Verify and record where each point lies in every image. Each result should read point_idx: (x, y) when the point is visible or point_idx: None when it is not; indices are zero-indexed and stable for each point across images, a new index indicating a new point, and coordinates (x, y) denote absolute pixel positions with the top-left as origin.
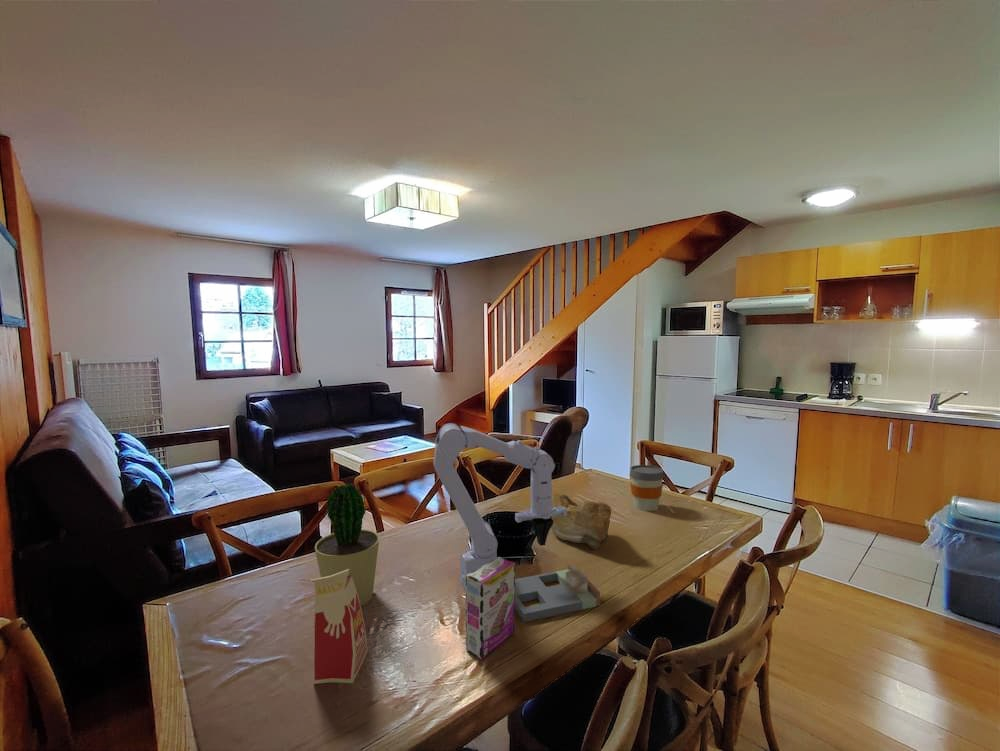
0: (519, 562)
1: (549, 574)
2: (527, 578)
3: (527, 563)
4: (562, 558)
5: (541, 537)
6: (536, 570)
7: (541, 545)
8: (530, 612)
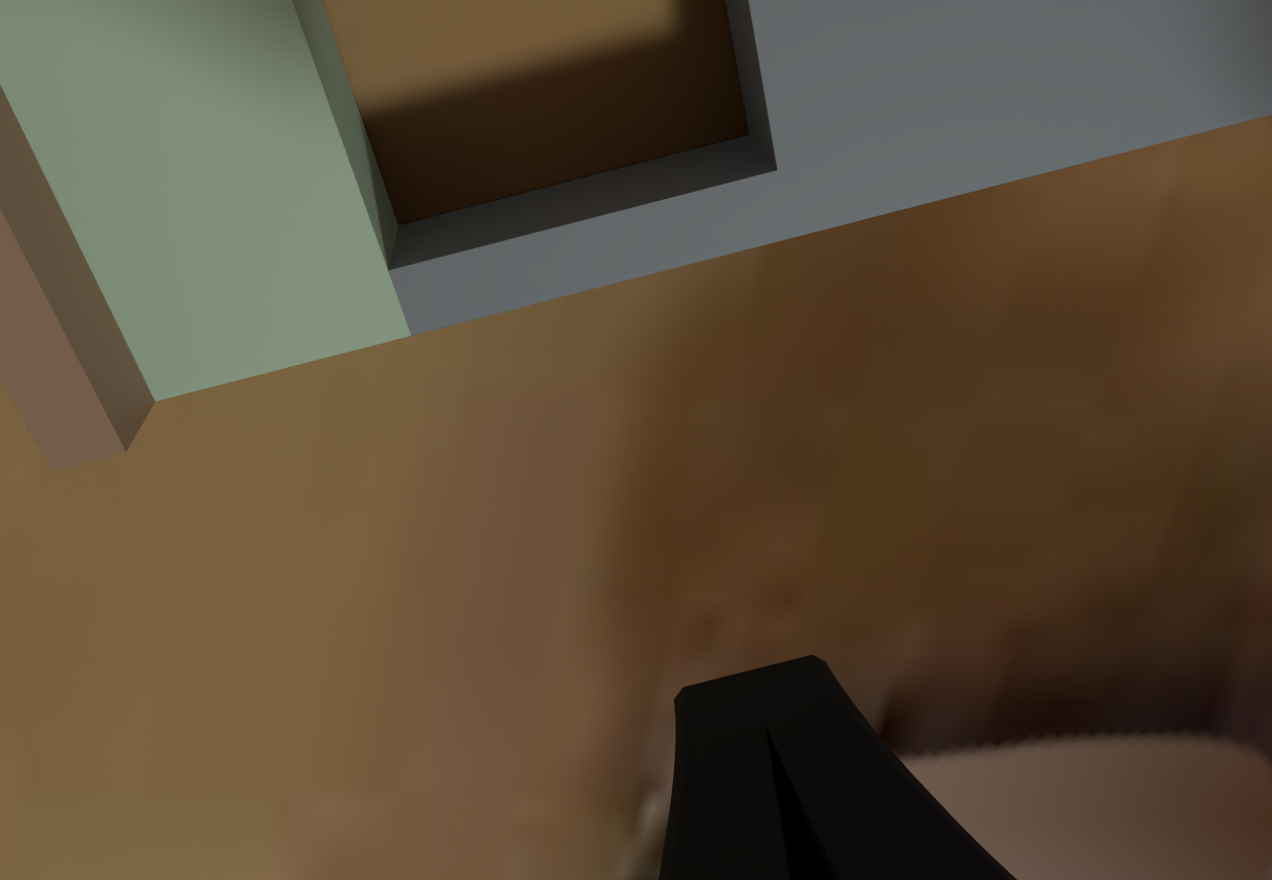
0: None
1: (543, 240)
2: (992, 132)
3: None
4: (231, 824)
5: (890, 832)
6: (685, 539)
7: (791, 663)
8: None
